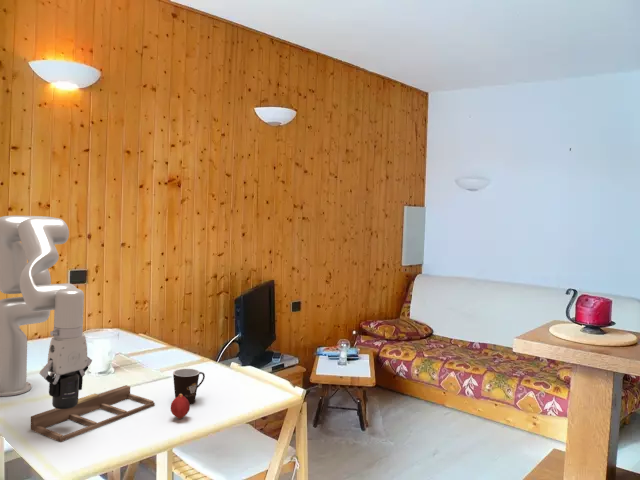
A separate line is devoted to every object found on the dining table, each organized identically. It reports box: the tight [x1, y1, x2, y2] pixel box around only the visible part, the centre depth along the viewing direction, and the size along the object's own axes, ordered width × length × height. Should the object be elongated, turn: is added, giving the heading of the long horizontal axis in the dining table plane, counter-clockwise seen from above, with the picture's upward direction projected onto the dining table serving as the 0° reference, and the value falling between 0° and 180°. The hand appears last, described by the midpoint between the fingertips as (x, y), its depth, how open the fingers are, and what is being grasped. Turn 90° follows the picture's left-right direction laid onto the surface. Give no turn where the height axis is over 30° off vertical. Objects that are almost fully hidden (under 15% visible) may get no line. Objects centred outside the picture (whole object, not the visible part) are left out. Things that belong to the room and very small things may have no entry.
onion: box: [170, 394, 191, 420], centre depth 169 cm, size 6×6×8 cm
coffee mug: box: [172, 368, 206, 405], centre depth 184 cm, size 12×9×10 cm
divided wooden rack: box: [30, 384, 156, 443], centre depth 167 cm, size 14×34×5 cm, turn 151°
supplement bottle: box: [51, 372, 80, 409], centre depth 157 cm, size 7×7×12 cm
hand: (65, 392), depth 157 cm, fingers closed on supplement bottle, 6 cm apart
